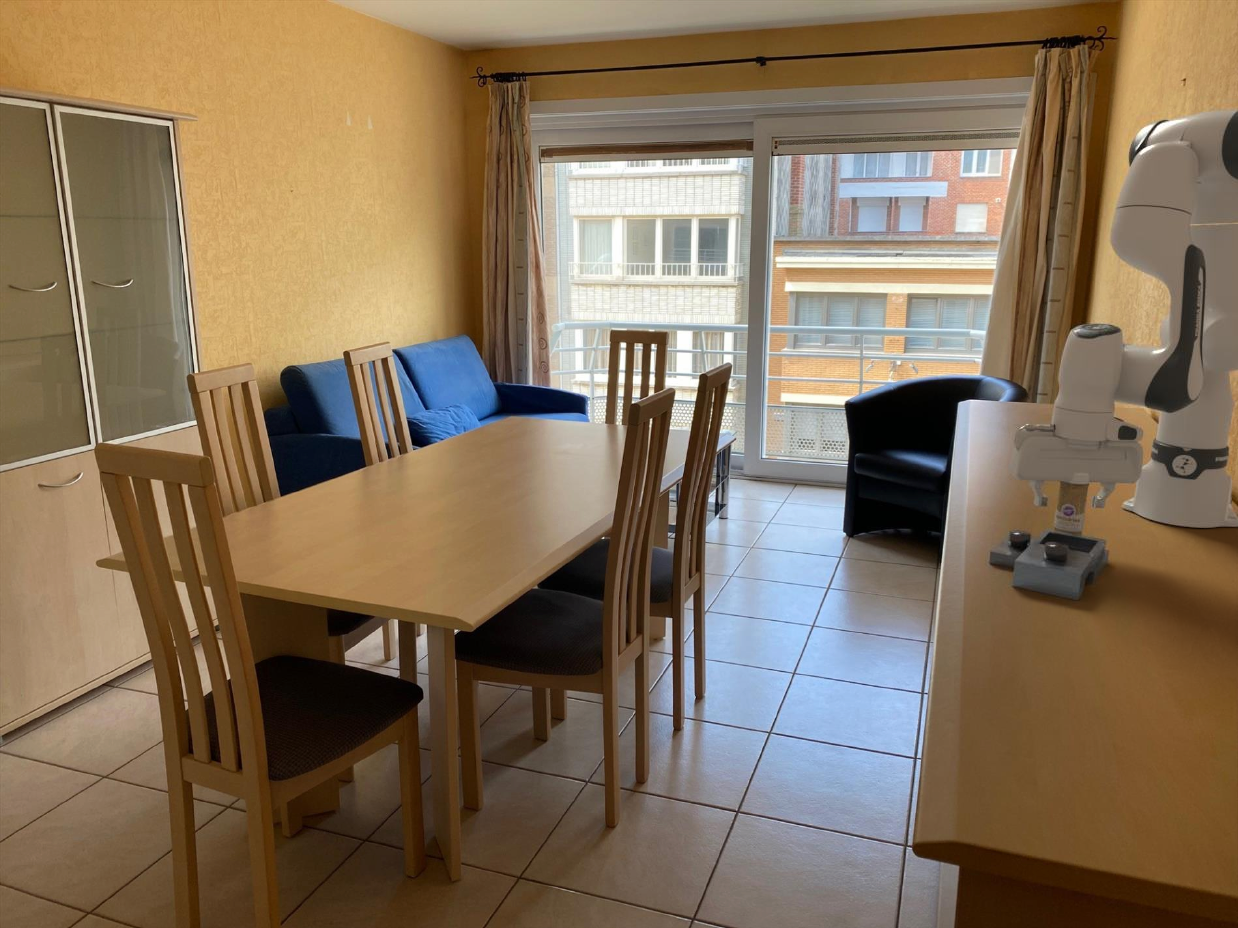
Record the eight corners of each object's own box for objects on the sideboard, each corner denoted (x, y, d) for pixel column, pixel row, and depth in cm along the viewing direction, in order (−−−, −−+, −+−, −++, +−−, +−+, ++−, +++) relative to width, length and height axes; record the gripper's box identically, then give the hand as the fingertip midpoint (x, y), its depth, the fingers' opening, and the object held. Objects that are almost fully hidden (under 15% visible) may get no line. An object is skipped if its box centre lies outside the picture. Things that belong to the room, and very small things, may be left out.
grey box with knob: (1042, 551, 151) (1047, 517, 149) (1102, 563, 145) (1108, 527, 144) (1011, 585, 136) (1016, 548, 134) (1077, 600, 131) (1082, 561, 129)
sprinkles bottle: (1051, 549, 152) (1061, 471, 148) (1050, 541, 156) (1059, 465, 152) (1082, 552, 150) (1092, 474, 147) (1079, 544, 154) (1090, 467, 151)
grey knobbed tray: (1009, 543, 155) (1012, 521, 154) (1107, 562, 146) (1111, 538, 145) (989, 563, 145) (991, 539, 144) (1092, 584, 136) (1096, 559, 135)
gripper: (1024, 427, 145) (1013, 510, 148) (1154, 431, 144) (1139, 513, 148) (1009, 419, 151) (998, 499, 154) (1133, 422, 151) (1119, 502, 154)
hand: (1068, 506), depth 151 cm, fingers open, 8 cm apart
